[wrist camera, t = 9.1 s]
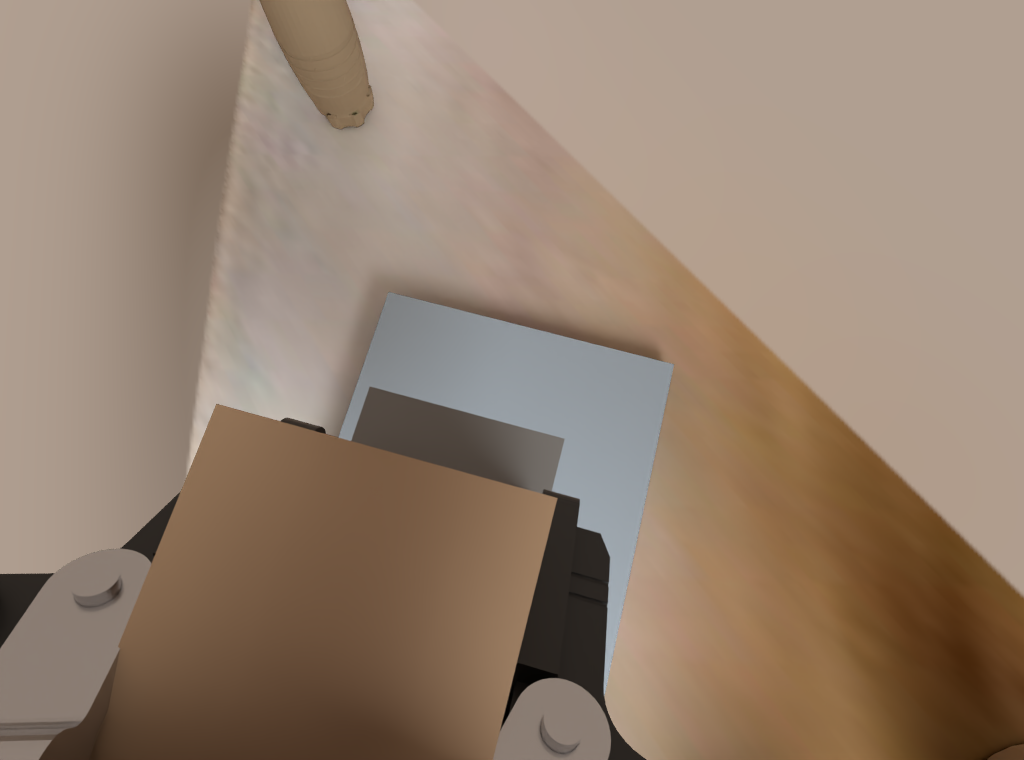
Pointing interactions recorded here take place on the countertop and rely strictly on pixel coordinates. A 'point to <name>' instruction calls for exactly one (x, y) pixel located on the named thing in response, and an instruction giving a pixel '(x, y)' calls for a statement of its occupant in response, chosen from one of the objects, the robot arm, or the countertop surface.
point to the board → (536, 408)
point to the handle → (324, 56)
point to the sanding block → (337, 591)
